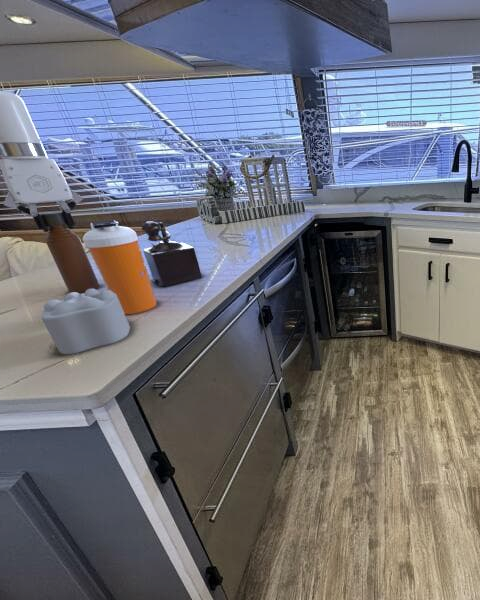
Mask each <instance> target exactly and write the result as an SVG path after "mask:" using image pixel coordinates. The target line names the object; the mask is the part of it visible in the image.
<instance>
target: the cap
mask: <svg viewBox="0 0 480 600" xmlns="http://www.w3.org/2000/svg"><path fill="white" fill-rule="evenodd" d="M39 214H40V216H42V218H43V220H44V222H45V224H46V226H47V228H48V227H49V226H60V225H65V226H67V225H66V224H67V222H66V220H65V217H64V215H63V212H62V211H57V212H56V211H53V212H44V213H39Z"/></svg>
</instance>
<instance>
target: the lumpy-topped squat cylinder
mask: <svg viewBox="0 0 480 600" xmlns="http://www.w3.org/2000/svg"><path fill="white" fill-rule="evenodd" d="M40 318H41V320H42V322H43V323H44V326H45V327H46V329H47V331H48V334H49V335H50V337H51V339H52V341H53V342H54V345H55V346H56V348H57V350H58V352H59V353H60V354H61V355H72V354H78V353H80V352H84V351H88V350H90V349H94V348H98V347H102V346H107V345H111V344H114V343H117V342H119V341H121V340H123V339H124V338H126V337H127V336H128V335H129V333H130V330H131V326H130V324H129V321H128V319H127V316H126V314H124V311H123V309H122V307H121V304H120V302H119V299H118V297H117V295H116V294H115V293H113V292H112V291H111V290H108V289H103V290H98V289H88V290H86V292H83V293H77V292H71V293H69V292H68V293H67V294H66V295H65V296H64V298H63V299H60V300H58V299H50V300H48V301H45V303H44V304H43V311H42V313H41V315H40Z"/></svg>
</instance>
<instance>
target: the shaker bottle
mask: <svg viewBox="0 0 480 600" xmlns="http://www.w3.org/2000/svg"><path fill="white" fill-rule="evenodd" d="M89 225H90V228H91V229H90V230H88V231H87V232H85V234H84V235H83V237H82V241H83V244H84V246H85V248H86V249H88V252H89V254H91V257H92V260H93V261H94V264H95V265H96V267H97V270H98V271H99V274H100V275H101V278H102V279H103V281H104V284H105V285H106V287H107V290H111V291H112V292H113V293H115V294H116V295H117V297H118V299H119V302H120V304H121V307H122V309H123V311H124V314H125V315H135V314H140V313H144V312H146V311H149V310H151V309H153V308H155V307H156V306H157V304H158V303H157V300H156V296H155V293H154V289H153V287H152V283H151V279H150V276H149V273H148V270H147V266H146V264H145V261H144V258H143V255H142V251H141V247H140V243H139V238H138V235H137V232H136V231H135V230H133V229H132V228H131V227H128V226H122V225H119V222H118V221H116V220H115V219H110V220H103V221H102V220H101V221H94V222H90V224H89Z"/></svg>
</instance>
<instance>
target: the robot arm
mask: <svg viewBox="0 0 480 600" xmlns="http://www.w3.org/2000/svg"><path fill="white" fill-rule="evenodd" d="M42 143H43V142H42V140H41V138H40V136H39V134H38V132H37V129H36V127H35V124H34V122H33V120H32V118H31V116H30V113H29V110H28V108H27V106H26V104H25V102H24V100H23V99H22V98H21V97H20V96H19V95H18V94H16V93H13V92H9V91H3V90H0V157H1V158H0V170H1V172H2V176H3V179H4V181H5V184H6V187H7V188H8V193H7V194H6V197H5V200H4V202H3V205H4V206H5V207H8V208H11V209H13V210H14V209H15V210H18V211H20V212H23V213H25V214H27V215H29V216H31V217H32V218H33V221H34V222H35V224H36V226H37V227H36V228H37V229H38V230H42V231H43V232H44V233H48V232H49V228H48V227H47V226H46V224H45V222H44V220H43V218H42V216H40V214H41V213H39V212H38V209H37V204H39V203H40V204H41V203H52V202H54V203H55V202H56V203H57V205H58V206H59V208H60V209H61V212H63V215H64V217H65V220H66V222H67V224H66V225H65V226H66V227H67V228H68V229H69V230H74V226H75V225H76V223H75V220H74V218H73V216H72V214H71V213H72V210H73V209H74V208H75V207H76V205H78V204H79V203H81V202H82V201H83V200H84V198H83V197H82V196H81V195H80V194H79V193H77V192H76V191H74V190H73V189H72V188H71V187H70V186H69V184H68V182H67V180H66V178H65V176H64V174H63V173H62V171H61V169H60V167H59V166H58V164H57V163H56V161H55V159H54V158H49V157H48V155H47V152H46V150H45V148H44V145H43V144H42ZM15 201H16V202H17V203H16V202H15ZM66 201H68V202H66ZM18 203H20V204H18ZM21 204H26V205H27V207H26V206H24V205H21Z"/></svg>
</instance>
